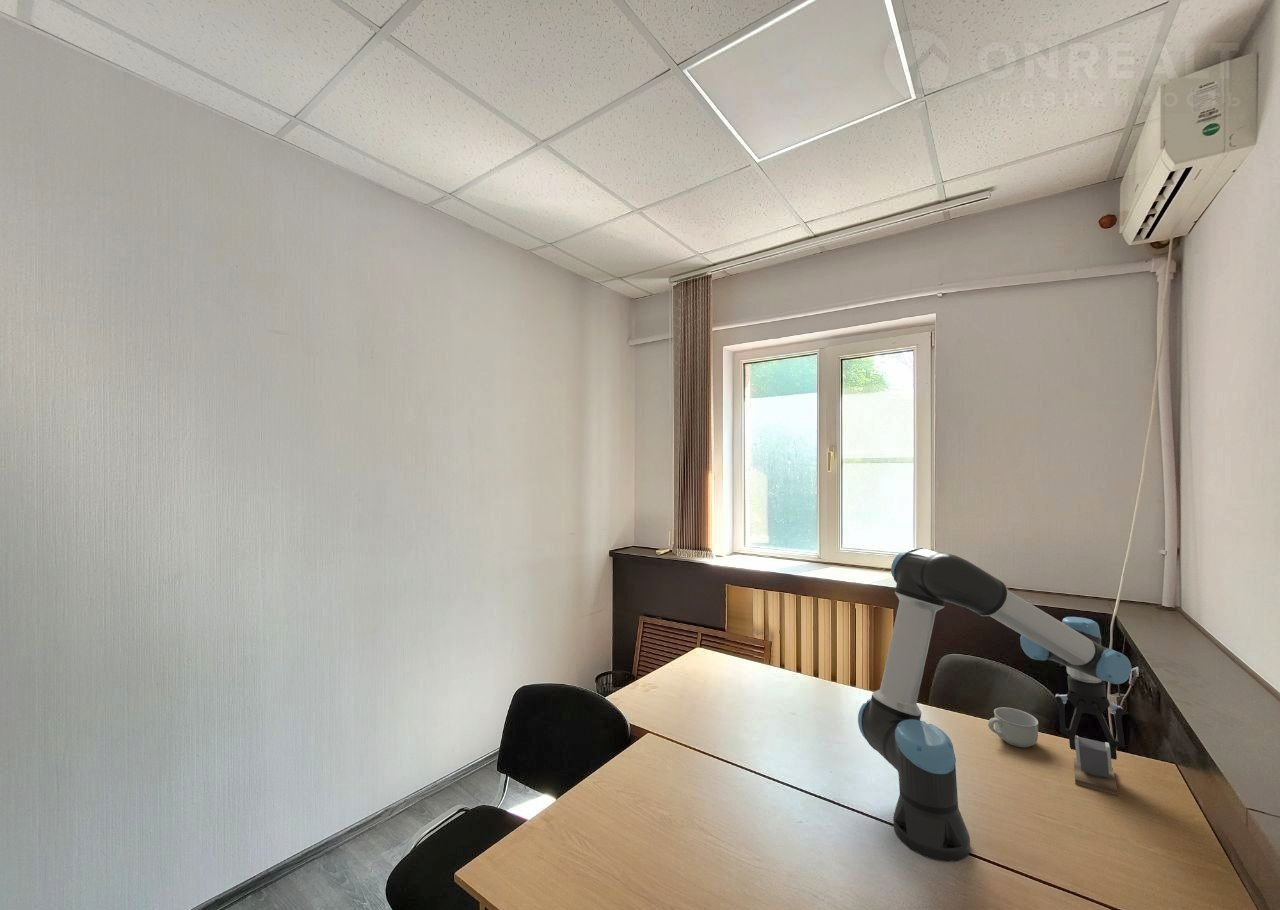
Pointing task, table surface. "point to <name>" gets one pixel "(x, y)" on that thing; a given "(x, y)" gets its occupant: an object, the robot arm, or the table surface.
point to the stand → (1095, 780)
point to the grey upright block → (1093, 757)
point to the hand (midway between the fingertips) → (1094, 765)
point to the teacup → (1015, 726)
